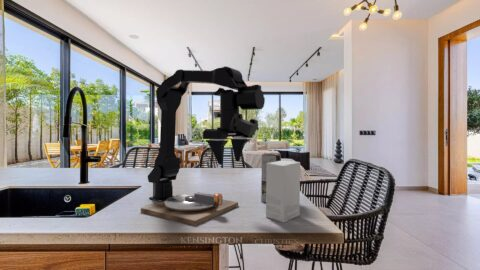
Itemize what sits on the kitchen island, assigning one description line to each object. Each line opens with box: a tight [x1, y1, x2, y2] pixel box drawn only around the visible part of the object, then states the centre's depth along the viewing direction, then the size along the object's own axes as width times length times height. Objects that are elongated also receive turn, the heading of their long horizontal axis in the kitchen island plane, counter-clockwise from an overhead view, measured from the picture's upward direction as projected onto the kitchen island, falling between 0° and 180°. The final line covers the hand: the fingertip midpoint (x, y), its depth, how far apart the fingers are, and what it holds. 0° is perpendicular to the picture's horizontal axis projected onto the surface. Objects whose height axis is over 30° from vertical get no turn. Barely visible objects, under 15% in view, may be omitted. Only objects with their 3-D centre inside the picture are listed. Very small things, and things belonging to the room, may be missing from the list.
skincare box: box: [265, 159, 301, 223], centre depth 76 cm, size 8×7×16 cm
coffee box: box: [260, 152, 282, 203], centre depth 96 cm, size 9×6×16 cm
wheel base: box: [140, 199, 239, 226], centre depth 83 cm, size 21×21×1 cm
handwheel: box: [165, 192, 224, 212], centre depth 83 cm, size 19×16×4 cm
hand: (229, 162), depth 81 cm, fingers open, 9 cm apart
